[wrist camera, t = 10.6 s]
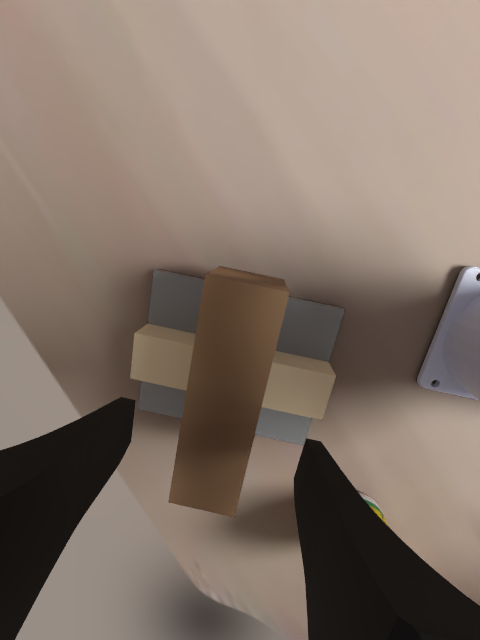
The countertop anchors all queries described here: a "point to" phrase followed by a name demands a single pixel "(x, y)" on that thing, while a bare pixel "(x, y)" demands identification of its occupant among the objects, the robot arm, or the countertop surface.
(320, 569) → the robot arm
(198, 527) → the countertop surface
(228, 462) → the walnut bar
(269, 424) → the board
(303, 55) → the countertop surface
